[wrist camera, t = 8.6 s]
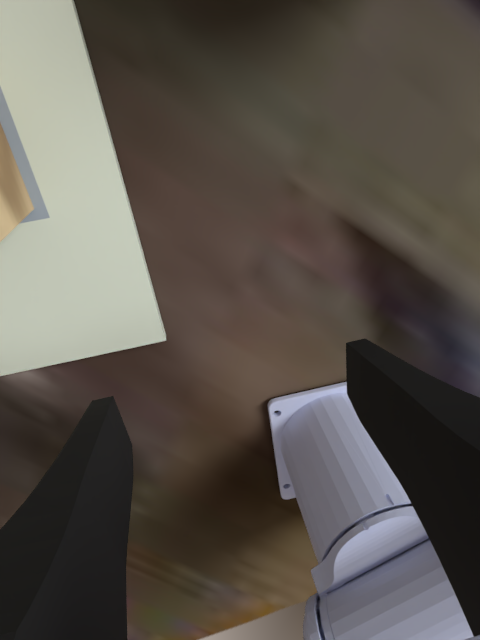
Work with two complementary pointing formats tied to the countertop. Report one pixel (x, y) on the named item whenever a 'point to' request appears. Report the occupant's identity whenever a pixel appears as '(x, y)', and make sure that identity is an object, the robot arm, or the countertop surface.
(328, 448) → the robot arm
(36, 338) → the plate
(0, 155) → the oak block
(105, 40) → the countertop surface
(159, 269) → the countertop surface
